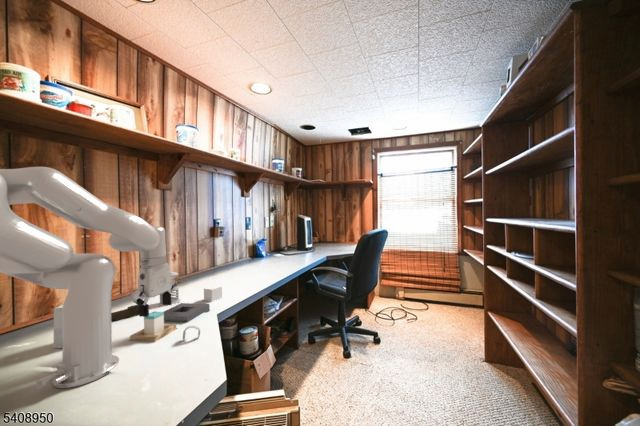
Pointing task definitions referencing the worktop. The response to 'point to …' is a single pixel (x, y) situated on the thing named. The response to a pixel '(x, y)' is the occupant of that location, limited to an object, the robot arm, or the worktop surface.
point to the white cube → (212, 293)
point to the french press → (175, 288)
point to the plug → (154, 323)
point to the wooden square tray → (153, 338)
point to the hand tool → (126, 313)
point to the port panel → (185, 312)
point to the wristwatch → (190, 327)
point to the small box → (58, 327)
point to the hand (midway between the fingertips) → (156, 310)
